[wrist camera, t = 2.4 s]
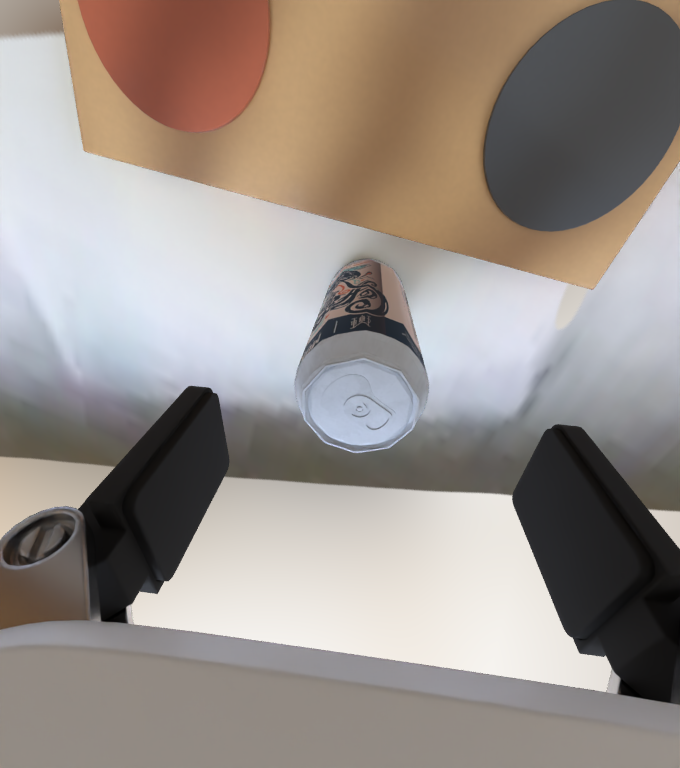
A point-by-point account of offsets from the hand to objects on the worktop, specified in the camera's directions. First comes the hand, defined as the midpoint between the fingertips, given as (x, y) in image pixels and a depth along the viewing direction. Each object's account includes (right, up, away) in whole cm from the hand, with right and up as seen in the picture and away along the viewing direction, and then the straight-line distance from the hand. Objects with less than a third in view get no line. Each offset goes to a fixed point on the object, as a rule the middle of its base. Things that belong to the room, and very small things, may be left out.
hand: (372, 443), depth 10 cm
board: (+1, +16, +6) cm, 17 cm away
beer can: (+1, +7, +11) cm, 14 cm away
